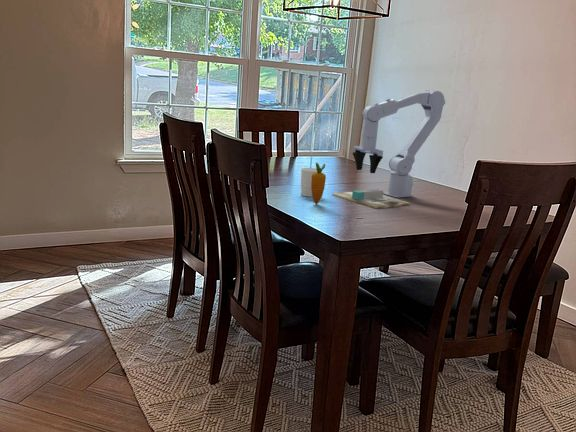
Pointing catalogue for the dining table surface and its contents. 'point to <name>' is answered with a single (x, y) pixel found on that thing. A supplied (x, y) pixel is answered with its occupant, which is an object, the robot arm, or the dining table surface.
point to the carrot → (318, 183)
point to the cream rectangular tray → (373, 201)
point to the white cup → (307, 181)
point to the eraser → (367, 194)
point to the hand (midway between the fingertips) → (365, 171)
